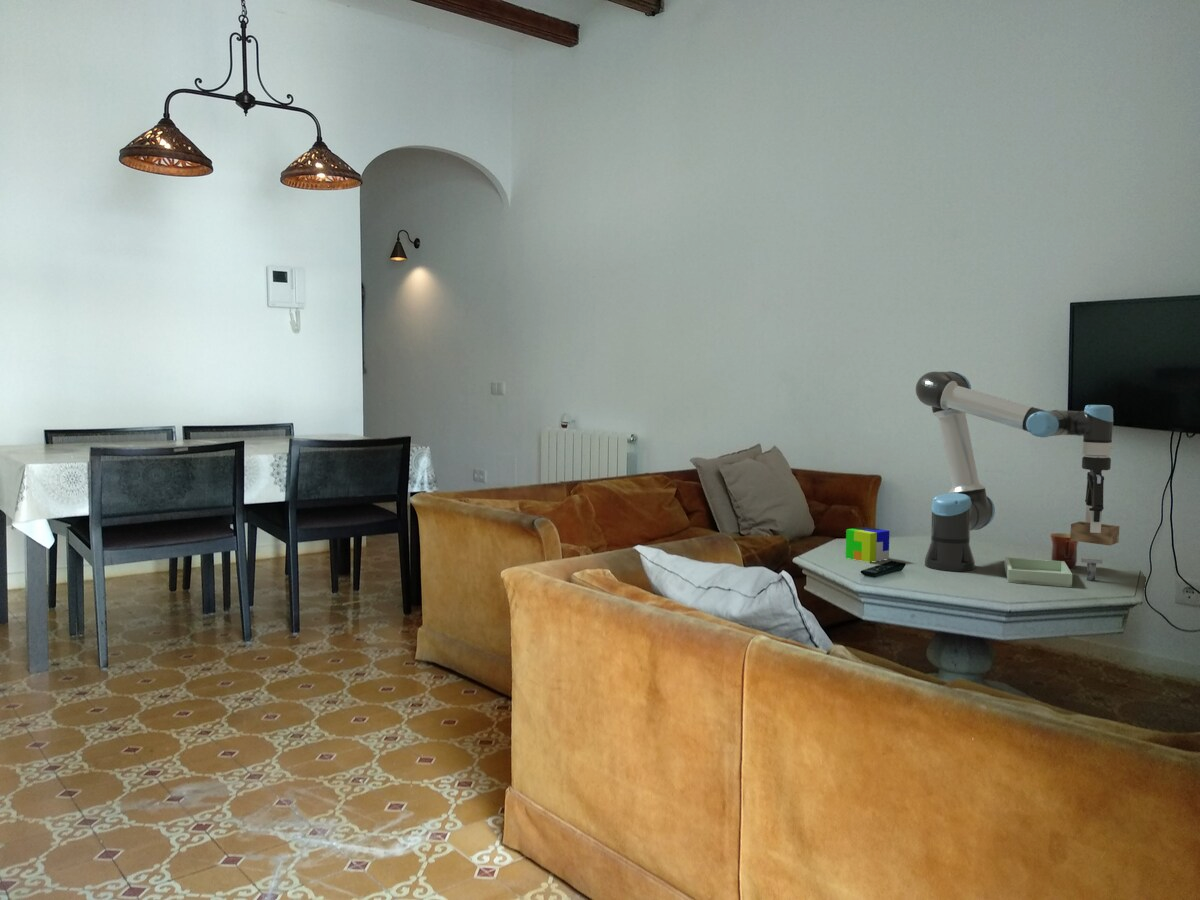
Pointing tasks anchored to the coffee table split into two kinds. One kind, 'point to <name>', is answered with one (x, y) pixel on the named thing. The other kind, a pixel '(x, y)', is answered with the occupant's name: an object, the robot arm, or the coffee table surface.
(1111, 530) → the light brown wooden box
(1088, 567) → the stake
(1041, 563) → the tray
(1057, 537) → the mug
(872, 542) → the puzzle toy
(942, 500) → the robot arm
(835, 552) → the coffee table surface
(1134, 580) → the coffee table surface
